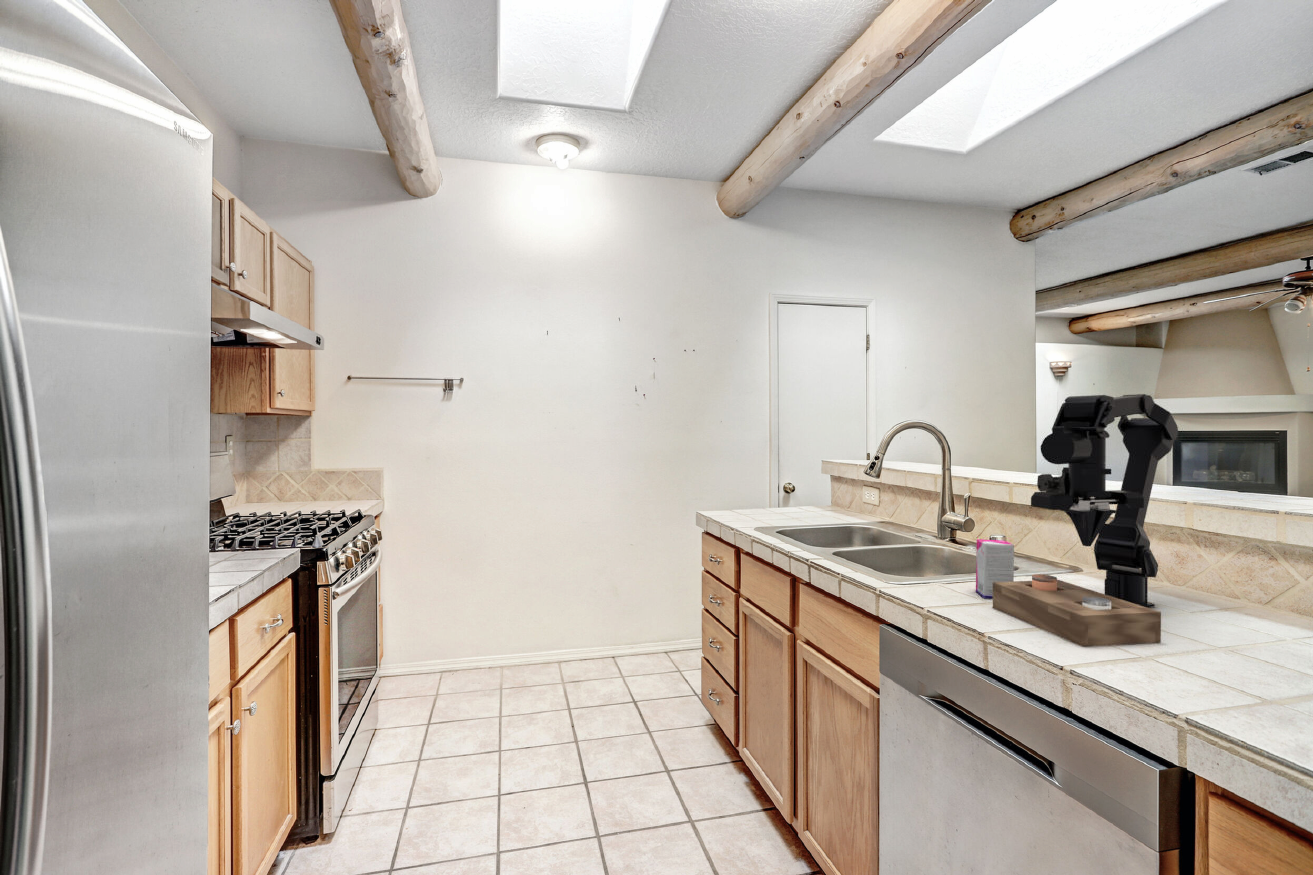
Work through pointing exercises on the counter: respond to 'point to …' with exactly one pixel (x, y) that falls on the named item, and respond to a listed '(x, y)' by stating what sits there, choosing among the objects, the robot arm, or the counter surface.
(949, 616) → the counter surface
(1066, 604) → the wooden holder block
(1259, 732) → the counter surface
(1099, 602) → the plug
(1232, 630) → the counter surface
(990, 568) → the supplement box
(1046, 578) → the terracotta plug
